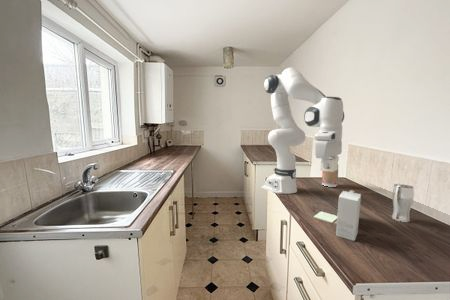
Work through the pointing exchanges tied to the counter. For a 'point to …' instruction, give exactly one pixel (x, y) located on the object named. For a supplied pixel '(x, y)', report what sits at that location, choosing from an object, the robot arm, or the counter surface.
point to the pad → (326, 217)
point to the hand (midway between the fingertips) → (328, 166)
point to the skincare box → (348, 215)
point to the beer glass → (402, 201)
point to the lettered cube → (330, 165)
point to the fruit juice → (330, 177)
